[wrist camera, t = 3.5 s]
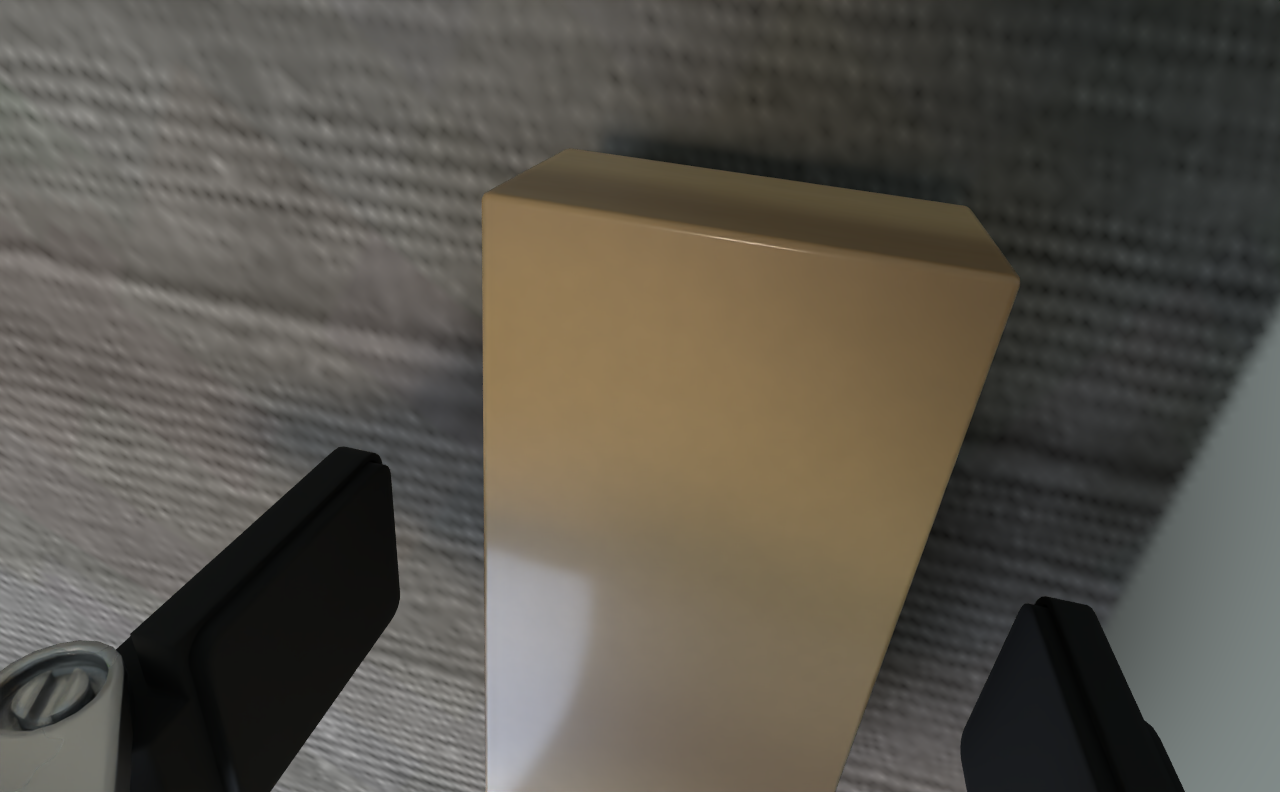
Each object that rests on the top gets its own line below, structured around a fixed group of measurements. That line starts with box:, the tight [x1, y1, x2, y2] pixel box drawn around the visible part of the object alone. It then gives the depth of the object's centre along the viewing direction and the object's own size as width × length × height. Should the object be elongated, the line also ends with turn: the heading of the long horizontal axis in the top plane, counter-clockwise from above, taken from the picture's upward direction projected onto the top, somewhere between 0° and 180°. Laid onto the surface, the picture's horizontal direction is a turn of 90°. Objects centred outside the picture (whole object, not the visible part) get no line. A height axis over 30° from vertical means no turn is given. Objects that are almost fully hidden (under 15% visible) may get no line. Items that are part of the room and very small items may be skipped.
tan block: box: [482, 148, 1020, 792], centre depth 11 cm, size 12×5×4 cm, turn 175°
